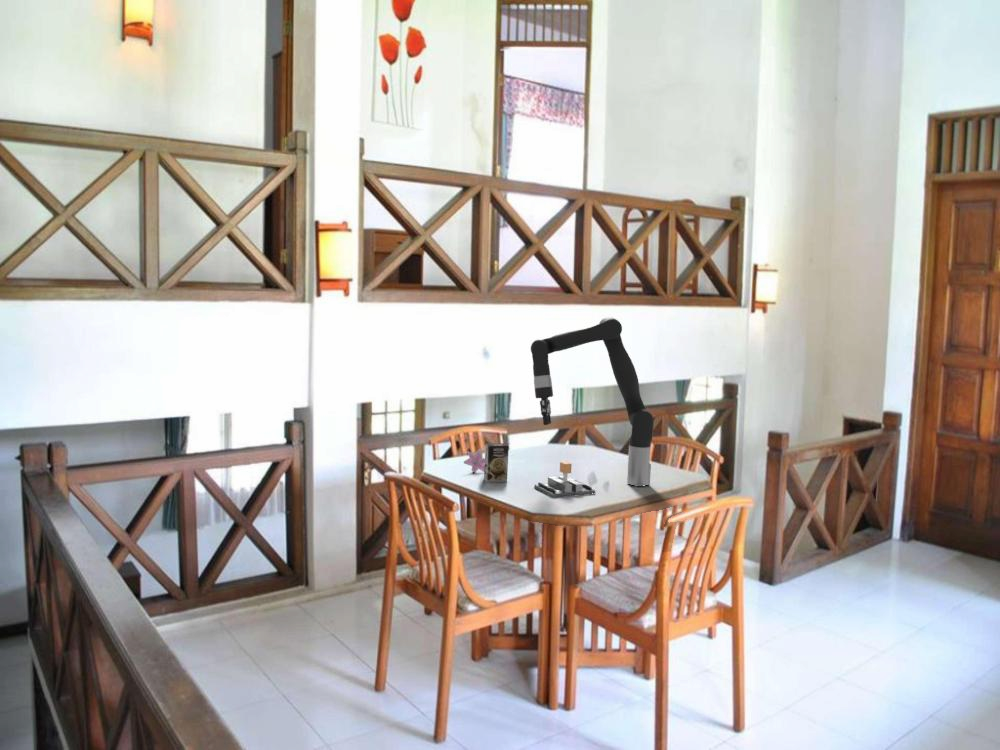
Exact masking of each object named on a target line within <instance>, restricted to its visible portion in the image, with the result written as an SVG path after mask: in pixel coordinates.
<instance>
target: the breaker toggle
mask: <svg viewBox="0 0 1000 750" xmlns="http://www.w3.org/2000/svg"><path fill="white" fill-rule="evenodd" d="M559 472H560V473H562V476H563V481H565V482H567V477H568V474H572V463H571V462H568V461H560V462H559Z"/></svg>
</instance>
